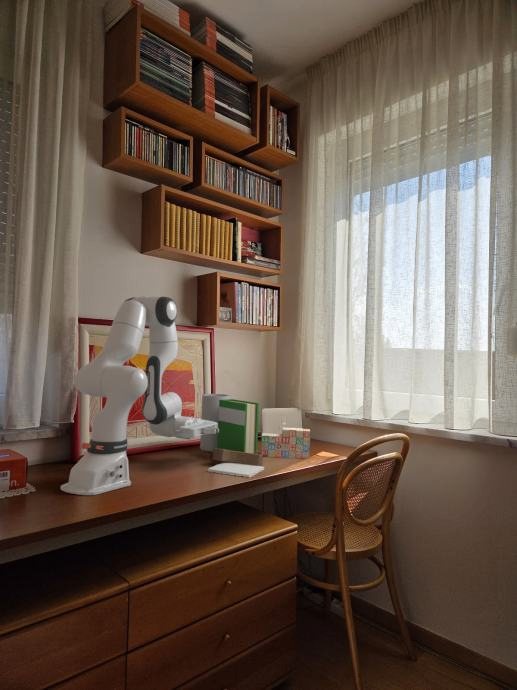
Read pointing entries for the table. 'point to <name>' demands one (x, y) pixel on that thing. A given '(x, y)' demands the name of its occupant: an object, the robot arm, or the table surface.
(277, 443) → the stack of blocks
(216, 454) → the wooden block
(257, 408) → the hardback book
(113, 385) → the robot arm
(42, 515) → the table surface
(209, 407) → the cylinder vase
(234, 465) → the white flat panel
